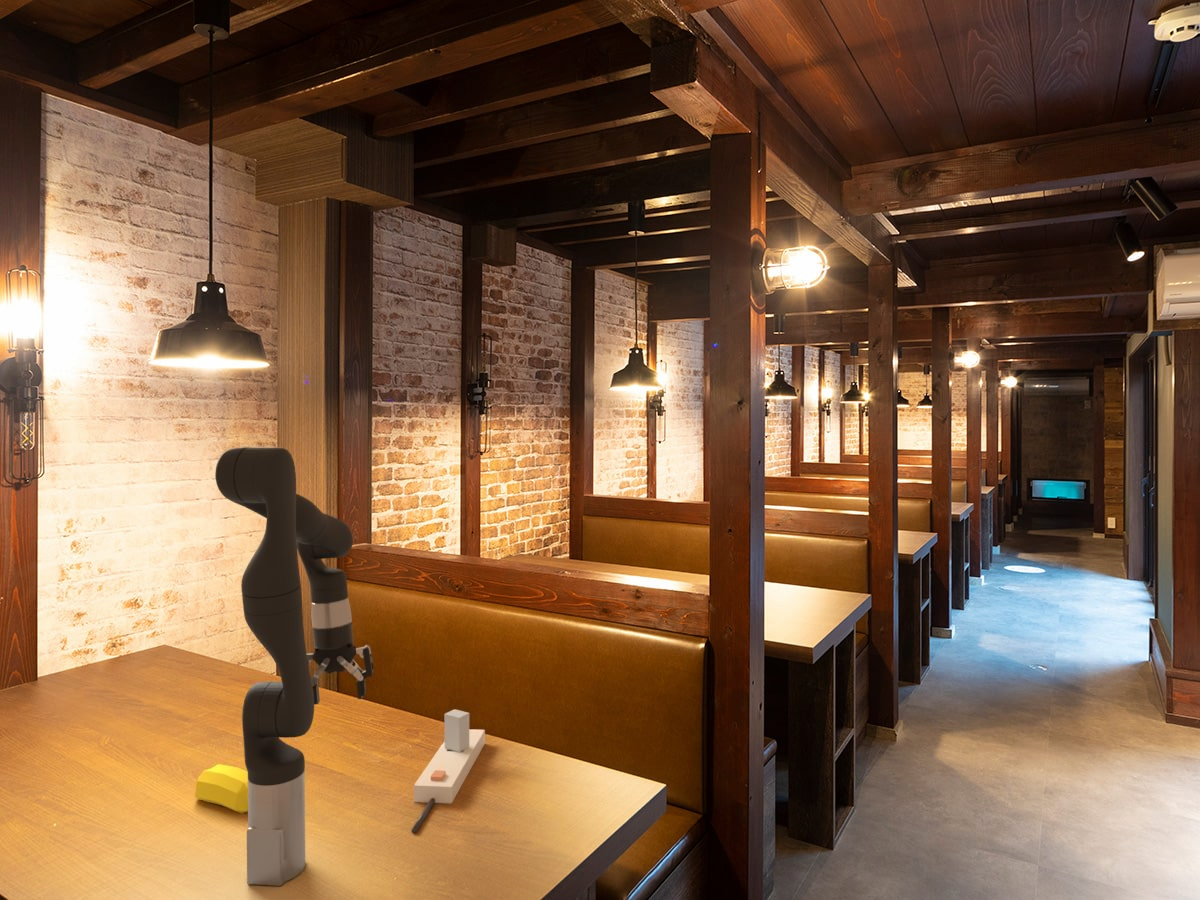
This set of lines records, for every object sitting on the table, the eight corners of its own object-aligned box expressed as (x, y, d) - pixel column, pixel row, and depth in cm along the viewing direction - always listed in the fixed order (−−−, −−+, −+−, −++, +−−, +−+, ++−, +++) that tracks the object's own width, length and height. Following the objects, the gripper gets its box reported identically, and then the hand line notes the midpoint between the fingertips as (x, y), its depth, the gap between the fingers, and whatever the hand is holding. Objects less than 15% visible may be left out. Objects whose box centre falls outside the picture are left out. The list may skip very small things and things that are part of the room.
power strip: (434, 834, 146) (434, 812, 146) (393, 832, 147) (393, 810, 147) (484, 743, 188) (484, 726, 188) (452, 742, 189) (452, 725, 188)
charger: (469, 753, 178) (469, 712, 177) (459, 759, 175) (459, 717, 174) (454, 749, 180) (454, 709, 180) (444, 754, 177) (444, 714, 177)
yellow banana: (218, 785, 166) (185, 801, 159) (217, 755, 166) (185, 769, 159) (276, 803, 158) (245, 820, 151) (276, 771, 158) (244, 787, 151)
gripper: (290, 630, 149) (298, 712, 150) (365, 622, 151) (372, 702, 152) (299, 621, 156) (306, 698, 157) (370, 613, 159) (377, 689, 159)
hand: (339, 700), depth 154 cm, fingers open, 8 cm apart
